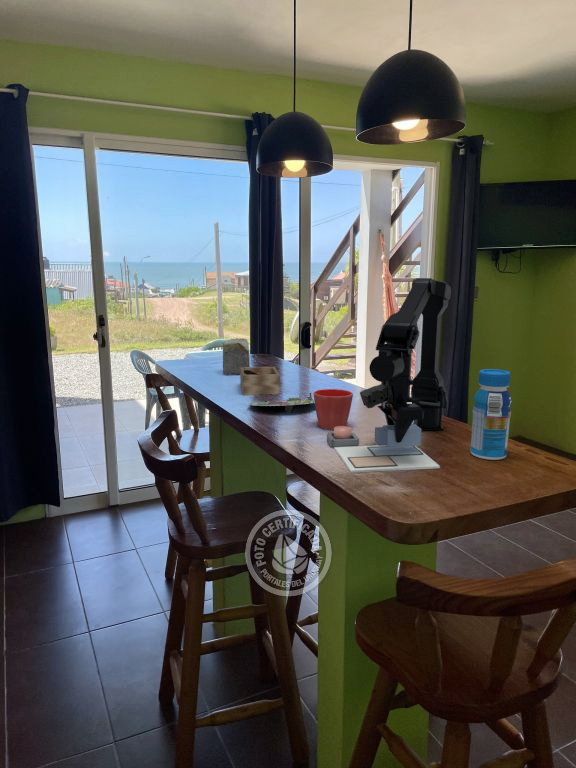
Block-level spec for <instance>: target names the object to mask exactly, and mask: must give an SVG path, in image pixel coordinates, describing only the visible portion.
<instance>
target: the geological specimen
mask: <svg viewBox="0 0 576 768" xmlns="http://www.w3.org/2000/svg"><path fill="white" fill-rule="evenodd" d="M240 367H251V365H250V347H249V342H248V339H247V338H238V337H236V338H231V339H228V340H226V341H224V342H222V372H223V374H228V375H230V374H231V375H237V376H238V375H240Z"/></svg>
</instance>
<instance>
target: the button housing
mask: <svg viewBox="0 0 576 768" xmlns="http://www.w3.org/2000/svg"><path fill="white" fill-rule="evenodd" d="M359 442H360V438H359V437H358V435H356V433H355V432H352V436H351V439H334V431H333V432H331V431H330V432H327V433H326V443H327V444H328V445H329V447H330V448H333V449H334V447H352V446H360V443H359Z"/></svg>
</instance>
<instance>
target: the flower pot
mask: <svg viewBox="0 0 576 768" xmlns="http://www.w3.org/2000/svg"><path fill="white" fill-rule="evenodd" d="M353 397H354V393H353V392H352V391H351V390H346V389H338V388H325V389H318V390H317V389H316V390H314V391H313V400H314V401H315V402H314V407H315V414H316V419H317V424H318V427H319V428H322V429H324V430H328V431H329V430H331V431H334V427H336V426H347V424H348V421H349V415H350V411H351V408H352V407H351V406H352V403H353Z"/></svg>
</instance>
